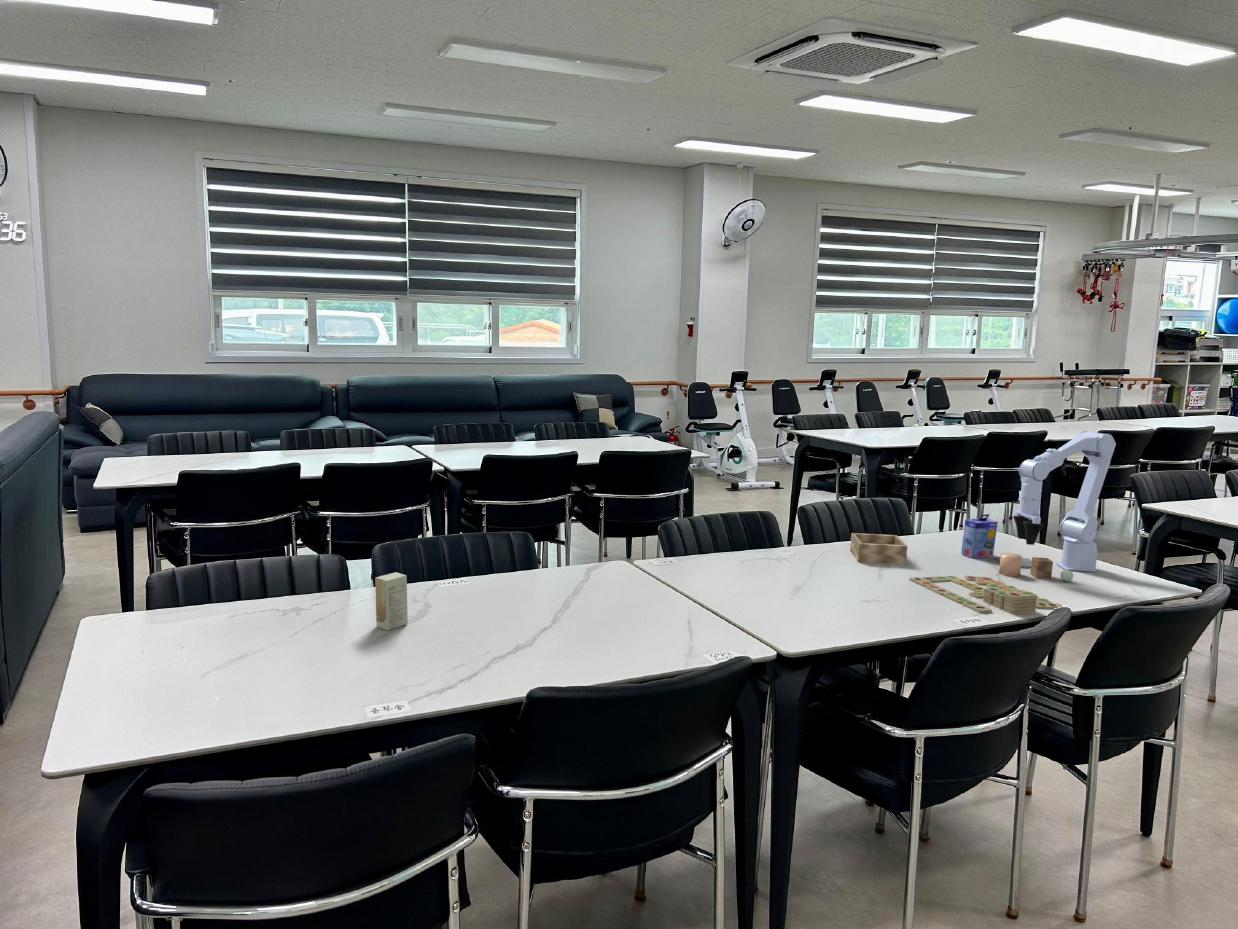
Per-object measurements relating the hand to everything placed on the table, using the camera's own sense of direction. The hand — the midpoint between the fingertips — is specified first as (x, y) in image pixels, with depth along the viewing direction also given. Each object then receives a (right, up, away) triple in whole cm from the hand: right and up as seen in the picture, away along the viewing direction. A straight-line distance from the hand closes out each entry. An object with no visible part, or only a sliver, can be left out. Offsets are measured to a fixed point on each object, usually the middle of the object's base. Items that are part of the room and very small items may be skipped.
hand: (1025, 541), depth 274 cm
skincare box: (-181, -14, -66) cm, 193 cm away
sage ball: (+9, -11, -7) cm, 16 cm away
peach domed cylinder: (-6, -10, -1) cm, 12 cm away
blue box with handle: (-7, -7, +21) cm, 23 cm away
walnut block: (+3, -11, -3) cm, 11 cm away
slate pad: (+3, -8, +12) cm, 15 cm away
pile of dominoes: (-23, -14, -23) cm, 35 cm away
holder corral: (-42, -6, +14) cm, 45 cm away
